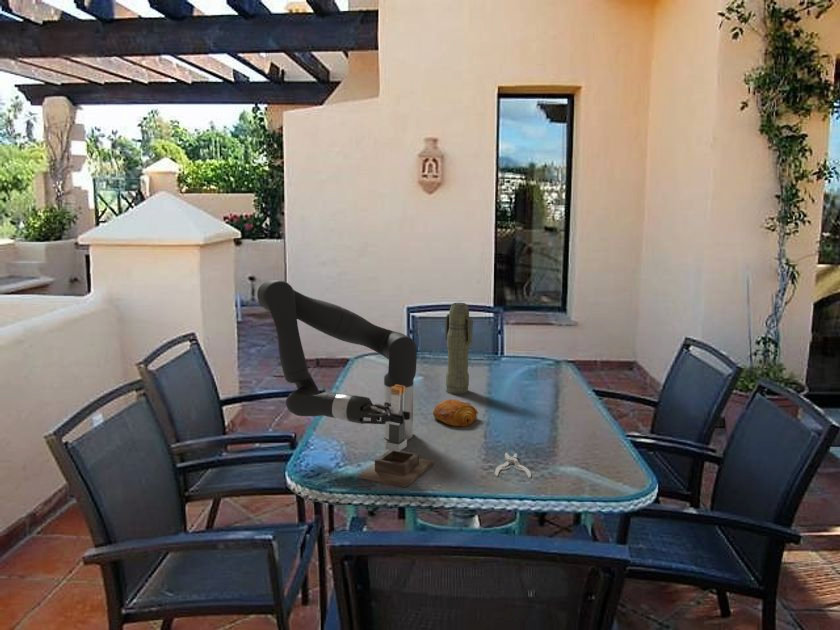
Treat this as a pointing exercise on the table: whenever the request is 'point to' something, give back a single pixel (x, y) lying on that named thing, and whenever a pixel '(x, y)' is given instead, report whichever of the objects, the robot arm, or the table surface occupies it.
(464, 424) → the croissant
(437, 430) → the table surface
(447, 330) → the thermos
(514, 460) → the pliers
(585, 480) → the table surface
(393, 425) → the tongs
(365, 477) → the stand
